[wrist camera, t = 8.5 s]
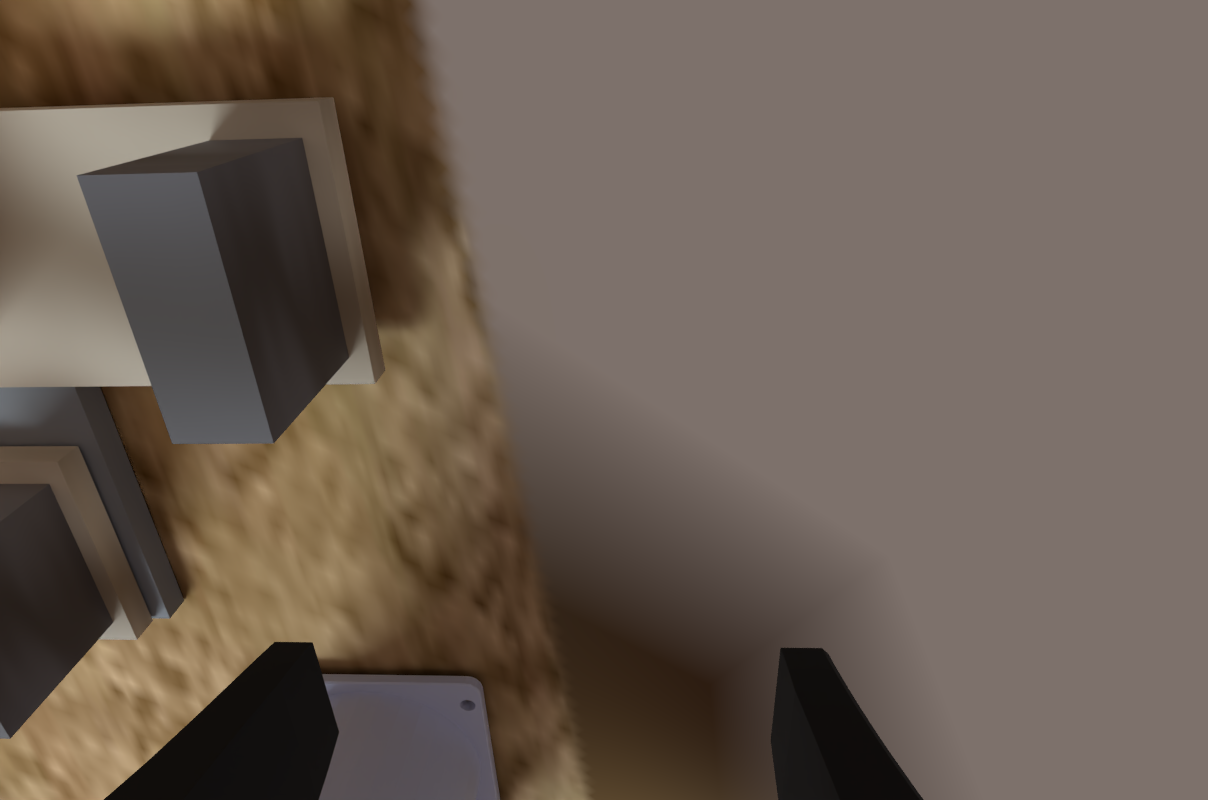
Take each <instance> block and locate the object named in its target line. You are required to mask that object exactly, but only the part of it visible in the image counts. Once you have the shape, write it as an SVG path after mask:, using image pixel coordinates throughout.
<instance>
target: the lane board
mask: <svg viewBox="0 0 1208 800" xmlns="http://www.w3.org/2000/svg"><path fill="white" fill-rule="evenodd" d="M0 446H78V447H79V449H80V452H81V454H82V456H83V459H84V461H85V463H86V466H87V468H88V470H89V473H90V475H91V477H92V480H93V482H94V484H95V487H96V489H97V491H98V494H99V496H100V498H101V501H102V503H103V505H104V508H105V510H106V512H107V515H108V517H109V519H110V522H111V524H112V526H113V529H114V531H115V533H116V536H117V538H118V540H119V543H120V545H121V547H122V550H123V552H124V554H125V557H126V559H127V561H128V564H129V566H130V568H131V571H132V573H133V576H134V578H135V580H136V583H137V585H138V587H139V590H140V592H141V594H142V597H143V599H144V601H145V604H146V606H147V608H148V611H149V613H150V615H151V618H171V616H172V615H173V614H174V613H175V611H176V610H177V609H178V608H179V606H180V605H181V604H182V603H183V601H184V599H183V596H182V594H181V591H180V589H179V586H178V584H177V581H176V579H175V576H174V574H173V571H172V568H171V566H170V563H169V561H168V558H167V556H166V553H165V551H164V548H163V546H162V543H161V541H160V538H159V535H158V533H157V530H156V528H155V525H154V523H153V520H152V518H151V515H150V513H149V510H148V508H147V505H146V502H145V500H144V497H143V495H142V492H141V490H140V487H139V485H138V482H137V480H136V477H135V475H134V472H133V470H132V467H131V464H130V462H129V459H128V457H127V454H126V452H125V449H124V447H123V444H122V442H121V439H120V437H119V434H118V431H117V429H116V426H115V424H114V421H113V419H112V416H111V414H110V411H109V409H108V406H107V404H106V401H105V398H104V396H103V393H102V391H101V388H100V387H0Z"/></svg>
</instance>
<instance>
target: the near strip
mask: <svg viewBox="0 0 1208 800" xmlns="http://www.w3.org/2000/svg"><path fill="white" fill-rule="evenodd" d="M384 371H385V366H384V361H383V355H382V350H381V345H380V340H379V334H378V329H377V324H376V318H375V313H374V308H373V303H372V297H371V292H370V287H369V282H368V276H367V271H366V266H365V261H364V255H363V250H362V245H361V239H360V234H359V229H358V224H357V218H356V213H355V208H354V203H353V197H352V192H351V187H350V182H349V176H348V171H347V166H346V160H345V155H344V150H343V145H342V139H341V134H340V129H339V124H338V118H337V113H336V108H335V103H334V97H325V98H294V99H264V100H233V101H203V102H173V103H142V104H112V105H82V106H51V107H21V108H0V387H100V386H152V388H153V391H154V394H155V397H156V399H157V402H158V405H159V408H160V411H161V413H162V416H163V419H164V422H165V425H166V427H167V430H168V433H169V436H170V439H171V441H172V444H245V443H274V442H275V441H276V440H277V439H278V438H279V437H280V436H281V434H282V433H283V432H284V431H285V430H286V429H287V428H288V427H289V425H290V424H291V423H292V422H293V421H294V420H295V419H296V417H297V416H298V415H299V414H300V413H301V412H302V411H303V410H304V408H305V407H306V406H307V405H308V404H309V403H310V402H311V400H312V399H313V398H314V397H315V396H316V395H317V394H318V393H319V391H320V390H321V389H322V388H323V387H324V386H325V385H326V384H375V383H376V382H377V380H378V379H379V378H380V376H381V375H382V374H383V372H384Z"/></svg>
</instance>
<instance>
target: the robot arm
mask: <svg viewBox="0 0 1208 800" xmlns="http://www.w3.org/2000/svg"><path fill="white" fill-rule="evenodd" d="M467 700H469V701H467ZM771 746H772V754H773V762H774V770H775V778H776V785H777V793H778V800H923V798H922V797H921V796H920V794H919V793H918V792H917V790H916V789H915V787H914V786H913V785H912V784H911V782H910V780H909V779H908V778H907V776H906V775H905V773H904V772H903V770H902V769H901V768H900V766H899V765H898V763H897V762H896V761H895V759H894V758H893V756H892V755H891V754H890V752H889V751H888V749H887V748H886V746H885V745H884V743H883V742H882V740H881V739H880V737H879V736H878V734H877V733H876V731H875V730H874V728H873V727H872V725H871V724H870V722H869V721H868V719H867V717H866V716H865V714H864V713H863V711H862V710H861V708H860V707H859V705H858V704H857V702H856V700H855V699H854V697H853V695H852V694H851V692H850V690H849V689H848V687H847V686H846V684H845V682H844V681H843V679H842V677H841V676H840V674H839V672H838V670H837V669H836V667H835V665H834V664H833V662H832V660H831V658H830V656H829V654H828V653H827V652H825V651H824V650H823V649H822V648H781V649H780V659H779V668H778V677H777V687H776V697H775V706H774V716H773V724H772V733H771ZM104 800H500V794H499V788H498V781H497V775H496V768H495V762H494V756H493V749H492V743H491V736H490V730H489V724H488V717H487V711H486V704H485V698H484V692H483V686H482V684H481V682H480V681H478V680H477V679H476V678H474V677H470V676H433V675H361V674H322V672H321V669H320V666H319V662H318V659H317V656H316V652H315V649H314V646H313V643H310V642H274V643H273V644H272V645H271V646H270V647H269V648H268V649H267V650H266V651H265V652H263V653H262V654H261V655H260V656H259V657H258V658H257V659H256V660H255V661H254V662H253V663H252V664H251V665H250V666H249V667H248V668H247V669H246V670H244V671H243V672H242V673H241V674H240V675H239V676H238V677H237V678H236V679H235V680H234V681H233V682H232V683H231V684H230V685H229V686H228V687H227V688H226V689H225V690H223V691H222V692H221V693H220V694H219V695H218V696H217V697H216V698H215V699H214V700H213V701H212V702H211V703H210V704H209V705H208V706H207V707H206V708H205V709H203V710H202V711H201V712H200V713H199V714H198V715H197V716H196V717H195V718H194V719H193V720H192V721H191V722H190V723H189V724H188V725H187V726H185V727H184V728H183V729H182V730H181V731H180V732H179V733H178V734H177V735H176V736H175V737H174V738H172V739H171V740H170V741H169V742H168V743H167V744H166V745H165V746H164V747H163V748H162V749H161V750H159V751H158V752H157V753H156V754H155V755H154V756H153V757H152V758H151V759H150V760H149V761H148V762H147V763H145V764H144V765H143V766H142V767H141V768H140V769H139V770H137V771H136V772H135V773H134V774H133V775H132V776H130V777H129V778H128V779H127V780H126V781H125V782H124V783H122V784H121V785H120V786H119V787H118V788H117V789H116V790H114V791H113V792H112V793H111V794H110V795H109V796H107V797H106V798H105V799H104Z"/></svg>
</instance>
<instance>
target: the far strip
mask: <svg viewBox="0 0 1208 800" xmlns="http://www.w3.org/2000/svg"><path fill="white" fill-rule="evenodd" d="M152 621H153V620H152V618H151V615H150V613H149V611H148V608H147V606H146V604H145V601H144V599H143V597H142V594H141V592H140V590H139V587H138V585H137V583H136V580H135V578H134V576H133V573H132V571H131V568H130V566H129V564H128V561H127V559H126V557H125V554H124V552H123V550H122V547H121V545H120V543H119V540H118V538H117V536H116V533H115V531H114V529H113V526H112V524H111V522H110V519H109V517H108V515H107V512H106V510H105V508H104V505H103V503H102V501H101V498H100V496H99V494H98V491H97V489H96V487H95V484H94V482H93V480H92V477H91V475H90V473H89V470H88V468H87V466H86V463H85V461H84V459H83V456H82V454H81V452H80V449H79V447H78V446H0V738H5V739H10V738H11V737H12V736H13V735H14V734H15V733H16V732H17V730H18V729H19V728H20V727H21V726H22V725H23V724H24V723H25V721H26V720H27V719H28V718H29V717H30V716H31V715H32V714H33V712H34V711H35V710H36V709H37V708H38V707H39V706H40V705H41V703H42V702H43V701H44V700H45V699H46V698H47V697H48V696H49V694H50V693H51V692H52V691H53V690H54V689H55V688H56V686H57V685H58V684H59V683H60V682H61V681H62V680H63V679H64V677H65V676H66V675H67V674H68V673H69V672H70V671H71V670H72V668H73V667H74V666H75V665H76V664H77V663H78V662H79V661H80V659H81V658H82V657H83V656H84V655H85V654H86V653H87V652H88V650H89V649H90V648H91V647H92V646H93V645H94V644H95V643H96V641H97V640H98V639H121V640H137V639H138V638H139V637H140V635H141V634H142V633H143V632H144V631H145V629H146V628H147V627H148V626H149V624H150V623H151V622H152Z"/></svg>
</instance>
